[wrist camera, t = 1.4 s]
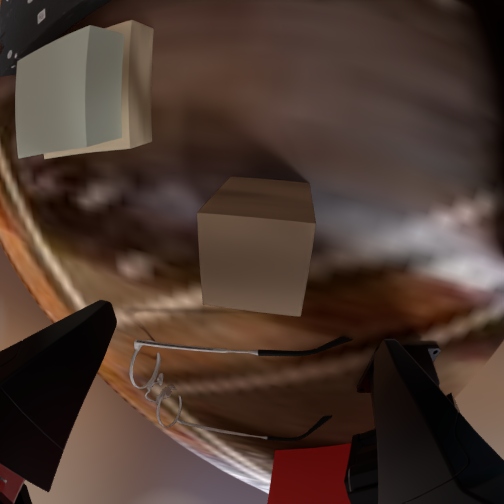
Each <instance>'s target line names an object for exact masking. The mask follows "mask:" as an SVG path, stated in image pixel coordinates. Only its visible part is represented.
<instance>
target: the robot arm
mask: <svg viewBox="0 0 504 504" xmlns="http://www.w3.org/2000/svg"><path fill="white" fill-rule="evenodd" d="M116 325H117V319H116V316H115V313H114V310H113V307H112V304H111V303H110V302H108V301H104V300H99V301H97V302H95V303H93V304H91V305H89V306H87V307H85V308H83V309H81V310H79V311H77V312H75V313H73V314H71V315H69V316H67V317H65V318H64V319H62V320H60V321H58V322H56V323H54V324H52V325H50V326H48V327H46V328H44V329H42V330H41V331H39V332H37V333H35V334H33V335H31V336H29V337H27V338H25V339H24V340H23V341H20V342H18V343H16V344H14V345H12V346H10V347H8V348H6V349H4V350H2V351H0V504H32V502H31V499H30V496H29V492H28V489H27V486H26V485H25V484H24V481H25V480H27V481H29V482H30V483H32V484H34V485H36V486H37V487H39V488H41V489H43V490H45V491H47V492H49V491H50V489H51V486H52V482H53V479H54V476H55V474H56V471H57V468H58V465H59V462H60V459H61V456H62V454H63V450H64V448H65V446H66V443H67V440H68V438H69V435H70V433H71V430H72V428H73V425H74V423H75V420H76V418H77V416H78V413H79V411H80V409H81V407H82V404H83V402H84V399H85V398H86V395H87V393H88V391H89V389H90V387H91V384H92V382H93V380H94V378H95V376H96V374H97V372H98V370H99V368H100V366H101V363H102V361H103V359H104V356H105V354H106V351H107V348H108V346H109V343H110V341H111V338H112V335H113V333H114V330H115V328H116ZM439 352H440V348H439V346H438V345H421V346H401V345H400V343H399V342H398V341H397V340H395V339H384V340H383V341H382V342H381V344H380V346H379V347H378V348H377V349H376V351H375V353H374V355H373V357H372V359H371V361H370V363H369V365H368V367H367V369H366V371H365V372H364V374H363V376H362V378H361V380H360V382H359V384H358V385H357V392H359V393H371V397H372V405H373V413H374V421H375V429H374V430H371V431H368V432H365V433H362V434H356V435H353V437H352V443H351V448H350V453H349V459H348V464H347V469H346V473H345V478H344V484H345V488H346V492H347V496H348V498H349V500H350V503H351V504H504V460H503V459H502V458H501V457H500V456H499V455H498V454H497V453H496V452H495V451H494V450H493V449H492V448H491V447H490V446H489V445H488V444H487V443H486V442H485V441H484V439H482V437H481V436H480V435H479V434H478V433H477V432H476V431H475V430H474V429H473V428H472V426H471V425H470V424H469V423H468V422H467V421H466V419H465V418H464V417H463V416H462V415H461V413H460V410H459V408H458V406H457V404H456V401H455V399H454V397H453V395H452V393H450V394H448V395H445V394H444V393H443V392H442V391H441V390H440V388H439V384H440V382H439V378H438V375H437V372H436V370H435V367H434V364H433V362H434V360H435V359H436V357H437V356H438V354H439Z"/></svg>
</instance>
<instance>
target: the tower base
mask: <svg viewBox="0 0 504 504" xmlns="http://www.w3.org/2000/svg"><path fill="white" fill-rule="evenodd" d="M104 29H107V30H111V31H114V32H118V33H121V34H124V35H125V36H124V48H123V63H122V88H121V123H122V138H119V139H115V140H111V141H107V142H104V143H100V144H97V145H93V146H90V147H85V148H77V149H70V150H63V151H57V152H50V153H45V154H44V159H48V158H54V157H61V156H67V155H74V154H82V153H90V152H99V151H109V150H120V149H131V148H134V147H137V146H140V145H143V144H147V143H150V142H152V123H151V74H152V48H153V32H154V29H153V28H151V27H148V26H146V25H144V24H141V23H139V22H136V21H134V20H129V21H126V22H123V23H119V24H116V25H113V26H110V27H107V28H104Z"/></svg>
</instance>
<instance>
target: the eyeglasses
mask: <svg viewBox="0 0 504 504" xmlns="http://www.w3.org/2000/svg"><path fill="white" fill-rule="evenodd" d="M351 340H353V339H351V338H346V337H341V338H338V339H336V340H334V341H331V342H329V343H327V344H325V345H323V346H321V347H319V348H317V349H312V350H307V351H281V350H253V351H239V350H228V349H222V348H208V347H196V346H186V345H176V344H167V343H159V342H155V341H152V340H145V341H144V340H137V339H136V340H135V341H134V344H135V345H134V348H135V349H136V350H135V352H134V354H133V357H132V360H131V364H130V379H131V382H132V384H133V385H134V386H135V387H137V388H139V389H143V388H146V387H147V386H148V385H149V386H148V387H147V389H148V390H149V391H148V392H147V393H149V392H150V391H151V387H153V385H154V384H153V383H155V382H154V381H155V379H156V377H157V374H158V371H159V367H160V361H161V357H160V354H159V353H157V362H156V367H155V370H154V373H153V375H152V377H151V379H150V380H149V381H148V383H147V384H145V385H144V386H142V387H138V386H137V385H136V384H135V382H134V379H133V365H134V360H135V357H136V355H137V353H138V351H139V350H140V348H141V347H142V346H143V345H148V346H156V347H164V348H173V349H183V350H194V351H206V352H221V353H227V352H237V353H250V354H255V355H258V356H304V355H311V354H315V353H318V352H321V351H324V350H326V349H329V348H331V347H334V346H337V345H340V344H342V343H346V342H349V341H351ZM157 381H158V382H159V385H160V386H161V385H162V383H163V373H160V374H159V377H157ZM158 382H157V383H158ZM155 384H156V383H155ZM170 387H173V388H170ZM171 389H174V390H176V389H175V387H174V386H167V387H165V388H164V389H163V390H162V391H161V392H160V394H159V395H157V396H156V398H157V399H156V401H154V400H151V399H149V398H148V397H147V393H146V394H145V398H146V399H147V400H149V401H151V402H154V403H158V404H157V419H158V421H159V423H160V424H161V425H162V426H164V425H163V424H162V422H161V420H160V417H159V408H160V403H161V400H162V398H163V399H166V398H164V396H166V397H167V398H169V397H170V395H171V393H172V391H171ZM179 401H180V406H179V411H178V415H177V417H176V418H175V420H174V422H173V423H172V424H170V425H168V426H164V427H171V426H173V425H174V424H175V423H176V422H179V423H180V424H184V425H188V426H192V427H197V428H201V429H206V430H211V431H216V432H222V433H228V434H234V435H240V436H252V437H259V438H263V439H267V440H277V441H296V440H300V439H302V438H304V437H306V436H307V435H309V434H310V433H312V432H313V431H314V430H316V429H317V428H318V427H320V426H321V425H322V424H324V423H325V422H326V421H327V420H329V419H330V418H331V417H332V415H331V416H324V417H323V418H322V419H321V420H319V421H318V422H317V423H316V424H315V425H314V426H313V427H312V428H311V429H310V430H309V431H308V432H306V433H305V434H304V435H302V436H299V437H295V438H282V437H269V436H263V437H260V436H253V435H248V434H244V433H237V432H231V431H226V430H220V429H215V428H210V427H206V426H201V425H197V424H193V423H188V422H185V421H183V420H181V419H180V418H179V416H180V413H181V408H182V399H181V396H179Z"/></svg>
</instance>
